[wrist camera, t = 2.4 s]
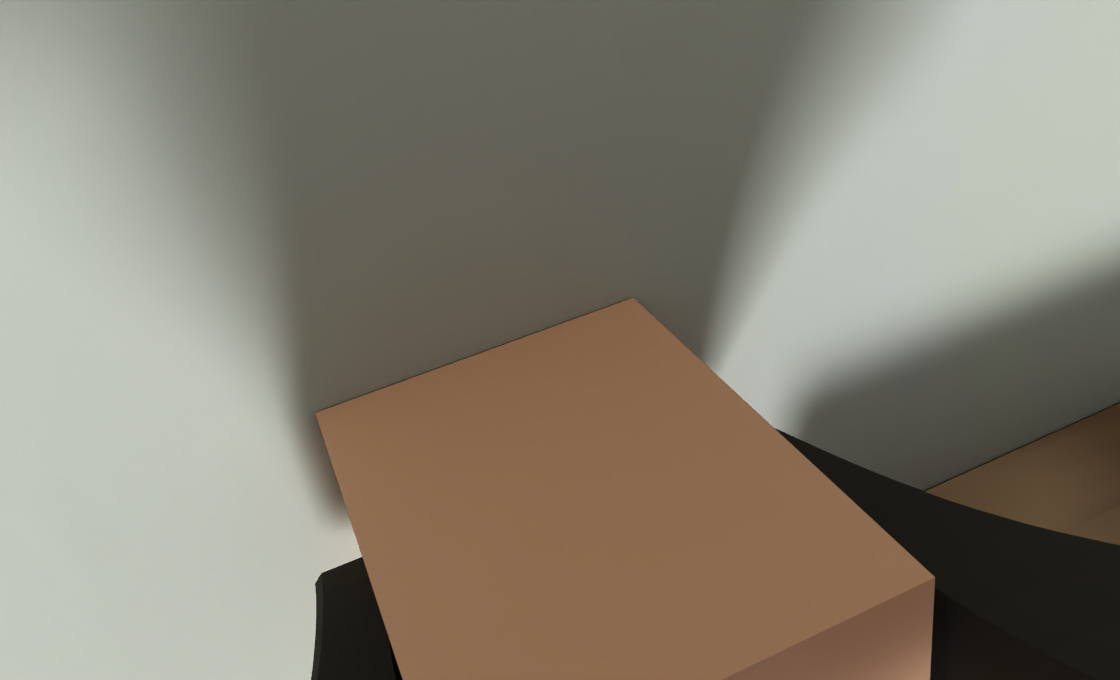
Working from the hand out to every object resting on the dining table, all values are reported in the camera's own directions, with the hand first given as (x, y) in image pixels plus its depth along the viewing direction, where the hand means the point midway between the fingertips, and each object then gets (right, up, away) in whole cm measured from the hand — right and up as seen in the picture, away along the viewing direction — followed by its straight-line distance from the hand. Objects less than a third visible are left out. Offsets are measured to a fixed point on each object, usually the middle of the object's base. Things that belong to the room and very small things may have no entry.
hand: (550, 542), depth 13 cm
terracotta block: (-1, +1, +1) cm, 1 cm away
